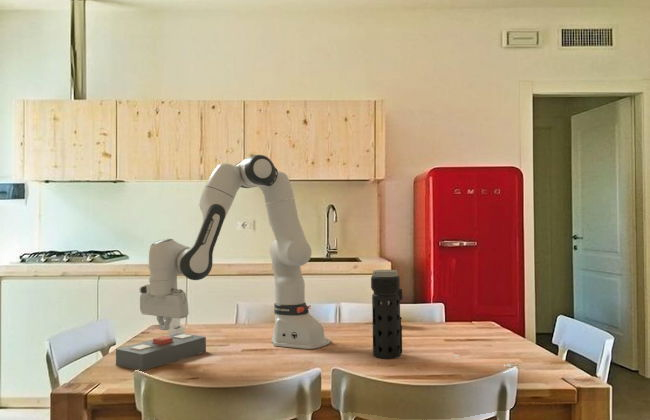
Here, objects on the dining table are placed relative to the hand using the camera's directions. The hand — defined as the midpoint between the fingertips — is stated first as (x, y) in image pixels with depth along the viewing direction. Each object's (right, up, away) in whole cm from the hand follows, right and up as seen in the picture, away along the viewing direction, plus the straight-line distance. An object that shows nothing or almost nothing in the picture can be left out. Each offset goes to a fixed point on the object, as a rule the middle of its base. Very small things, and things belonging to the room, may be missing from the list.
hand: (164, 329), depth 165 cm
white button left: (-5, -9, -8) cm, 13 cm away
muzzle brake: (+74, -9, 0) cm, 75 cm away
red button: (0, -8, 0) cm, 8 cm away
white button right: (+4, -9, +7) cm, 12 cm away
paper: (+107, -8, -10) cm, 108 cm away
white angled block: (-6, -10, +32) cm, 34 cm away
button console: (0, -9, 0) cm, 9 cm away
